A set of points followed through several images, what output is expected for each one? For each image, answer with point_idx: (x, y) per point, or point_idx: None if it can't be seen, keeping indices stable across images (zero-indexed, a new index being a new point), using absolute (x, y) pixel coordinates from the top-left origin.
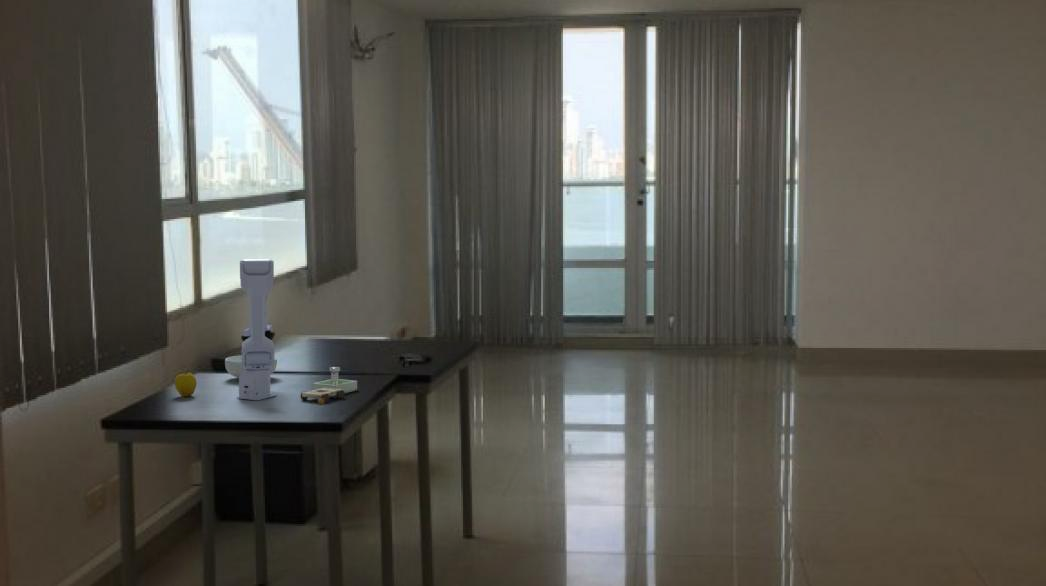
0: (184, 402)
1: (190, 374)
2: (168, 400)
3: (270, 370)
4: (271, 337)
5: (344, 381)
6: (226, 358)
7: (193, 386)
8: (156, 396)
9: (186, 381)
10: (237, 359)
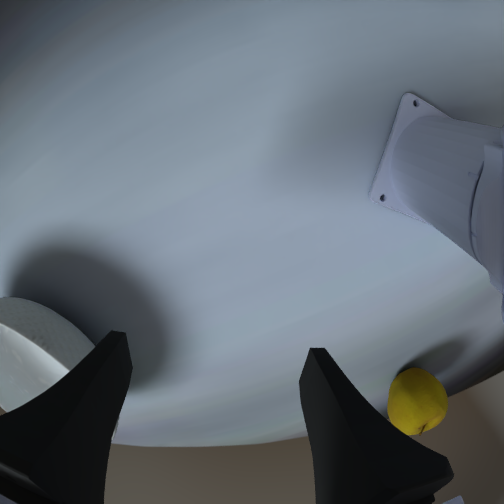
0: (479, 334)
1: (435, 414)
2: (448, 374)
3: (24, 303)
4: (35, 431)
5: None
6: None
7: (432, 378)
8: None
9: (446, 396)
10: None
